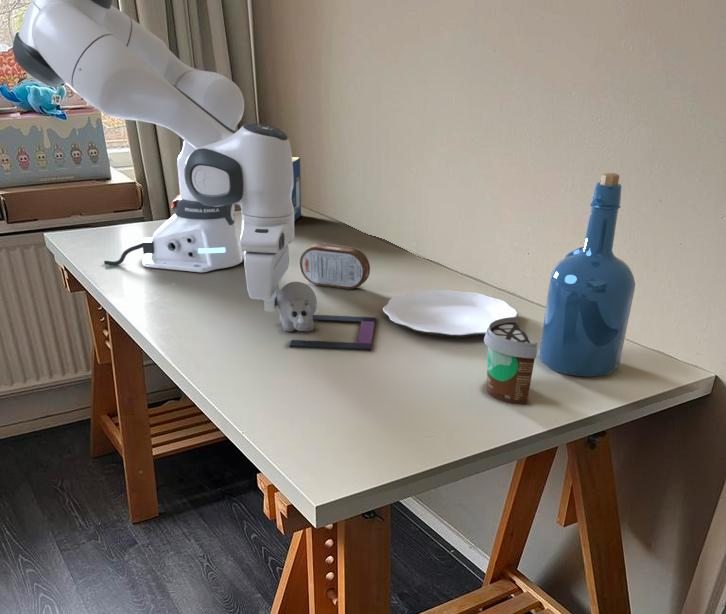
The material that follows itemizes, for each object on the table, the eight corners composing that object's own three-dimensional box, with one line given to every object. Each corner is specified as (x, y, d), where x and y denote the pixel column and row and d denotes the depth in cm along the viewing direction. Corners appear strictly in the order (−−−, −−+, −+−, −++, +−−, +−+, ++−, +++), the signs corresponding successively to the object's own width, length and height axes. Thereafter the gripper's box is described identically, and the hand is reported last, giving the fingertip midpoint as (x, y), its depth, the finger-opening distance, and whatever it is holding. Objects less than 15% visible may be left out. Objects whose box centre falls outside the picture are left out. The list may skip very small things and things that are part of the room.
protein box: (251, 225, 209) (247, 163, 201) (266, 213, 222) (263, 154, 214) (288, 227, 208) (287, 165, 200) (302, 215, 221) (300, 156, 213)
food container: (471, 376, 125) (477, 316, 120) (509, 375, 125) (516, 315, 120) (488, 409, 114) (495, 345, 109) (529, 408, 115) (538, 344, 110)
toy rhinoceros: (279, 346, 135) (277, 298, 130) (277, 321, 145) (275, 276, 140) (320, 345, 136) (320, 298, 131) (315, 320, 146) (315, 275, 141)
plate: (442, 291, 163) (442, 282, 162) (542, 321, 148) (543, 312, 147) (356, 317, 148) (356, 308, 147) (458, 355, 132) (459, 344, 132)
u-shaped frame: (289, 347, 134) (289, 344, 134) (302, 316, 148) (302, 314, 148) (370, 350, 133) (370, 348, 133) (375, 319, 147) (375, 317, 147)
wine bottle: (630, 379, 125) (672, 182, 109) (550, 380, 124) (581, 182, 108) (601, 347, 137) (636, 166, 121) (527, 348, 136) (553, 165, 120)
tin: (370, 288, 163) (371, 247, 159) (365, 292, 161) (366, 251, 157) (304, 280, 168) (303, 240, 163) (298, 284, 165) (297, 244, 161)
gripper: (261, 215, 141) (264, 290, 148) (237, 243, 123) (241, 327, 130) (296, 216, 140) (297, 291, 148) (276, 245, 123) (278, 329, 130)
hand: (271, 308), depth 139 cm, fingers closed
